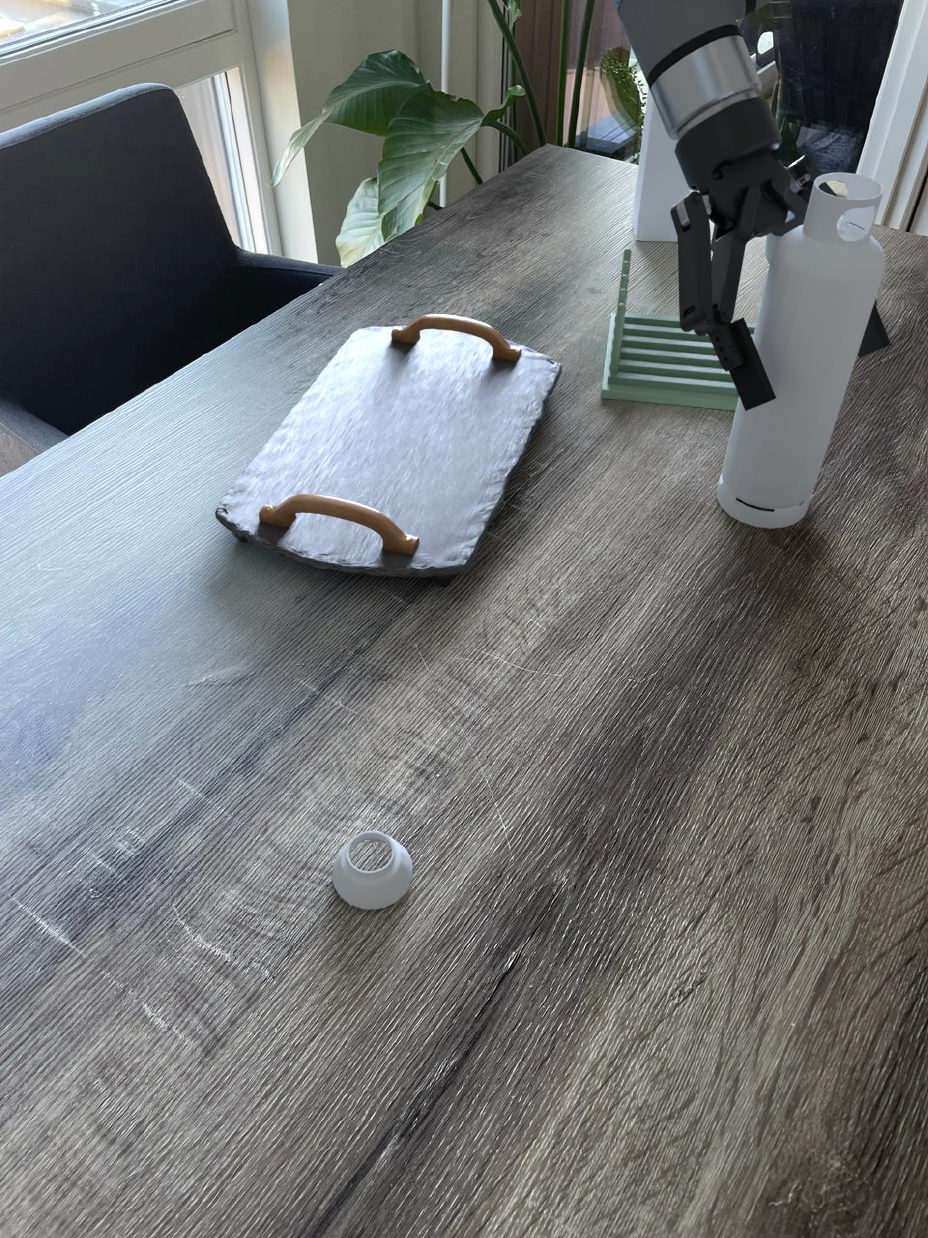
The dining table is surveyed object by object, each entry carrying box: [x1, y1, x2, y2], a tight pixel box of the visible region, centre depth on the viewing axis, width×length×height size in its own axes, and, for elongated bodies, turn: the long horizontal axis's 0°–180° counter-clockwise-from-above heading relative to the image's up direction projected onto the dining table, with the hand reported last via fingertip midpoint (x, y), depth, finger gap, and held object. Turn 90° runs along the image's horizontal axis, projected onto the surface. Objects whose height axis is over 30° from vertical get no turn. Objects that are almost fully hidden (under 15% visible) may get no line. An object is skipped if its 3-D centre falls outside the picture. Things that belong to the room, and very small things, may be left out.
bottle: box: [716, 171, 887, 529], centre depth 80 cm, size 8×8×28 cm
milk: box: [631, 86, 692, 243], centre depth 121 cm, size 6×6×22 cm
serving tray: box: [214, 313, 563, 588], centre depth 92 cm, size 39×23×6 cm, turn 162°
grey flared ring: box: [331, 830, 414, 911], centre depth 62 cm, size 5×3×5 cm
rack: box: [600, 247, 756, 412], centre depth 103 cm, size 19×16×9 cm
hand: (820, 377), depth 79 cm, fingers open, 13 cm apart
